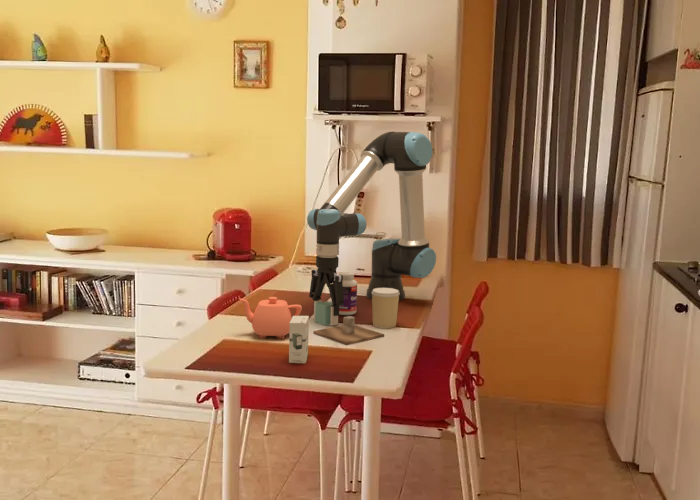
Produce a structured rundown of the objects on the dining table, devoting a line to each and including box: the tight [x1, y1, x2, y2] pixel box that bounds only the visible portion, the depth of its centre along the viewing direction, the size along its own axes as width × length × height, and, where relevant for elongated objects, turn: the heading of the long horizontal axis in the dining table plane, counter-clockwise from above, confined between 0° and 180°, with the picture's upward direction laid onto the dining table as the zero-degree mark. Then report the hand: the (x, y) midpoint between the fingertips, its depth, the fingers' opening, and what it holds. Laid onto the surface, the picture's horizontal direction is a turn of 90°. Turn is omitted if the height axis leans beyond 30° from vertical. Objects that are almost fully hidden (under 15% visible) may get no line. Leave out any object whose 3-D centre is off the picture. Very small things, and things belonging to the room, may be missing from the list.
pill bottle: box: [337, 271, 358, 316], centre depth 268 cm, size 8×8×14 cm
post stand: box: [312, 315, 385, 346], centre depth 241 cm, size 16×16×6 cm
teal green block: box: [314, 300, 333, 326], centre depth 255 cm, size 5×5×7 cm
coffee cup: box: [371, 288, 400, 329], centre depth 254 cm, size 9×9×12 cm
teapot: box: [238, 296, 303, 340], centre depth 238 cm, size 13×20×12 cm, turn 91°
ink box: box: [288, 315, 310, 364], centre depth 215 cm, size 9×5×12 cm, turn 178°
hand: (325, 321), depth 256 cm, fingers open, 8 cm apart
